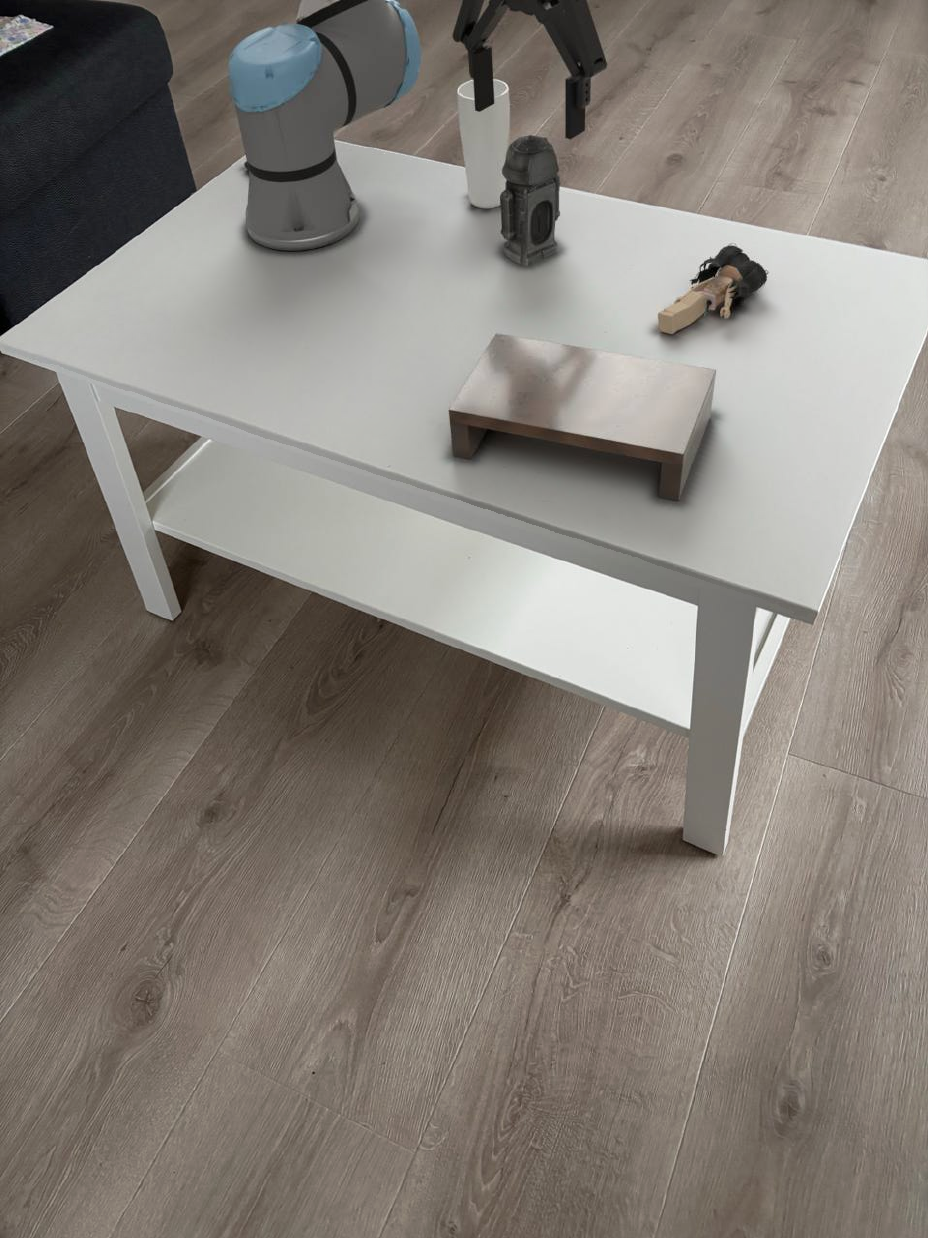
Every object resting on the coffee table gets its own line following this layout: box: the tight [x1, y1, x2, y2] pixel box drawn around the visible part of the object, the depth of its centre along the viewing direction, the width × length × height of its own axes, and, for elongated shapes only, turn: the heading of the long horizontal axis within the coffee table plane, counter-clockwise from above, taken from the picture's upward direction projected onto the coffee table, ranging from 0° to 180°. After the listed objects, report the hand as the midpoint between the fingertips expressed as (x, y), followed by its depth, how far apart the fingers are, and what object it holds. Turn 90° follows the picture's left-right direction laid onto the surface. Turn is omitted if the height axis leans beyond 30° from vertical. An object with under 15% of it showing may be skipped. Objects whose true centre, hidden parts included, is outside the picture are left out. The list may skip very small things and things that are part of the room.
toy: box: [499, 134, 561, 267], centre depth 135 cm, size 8×6×15 cm
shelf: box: [448, 332, 717, 502], centre depth 112 cm, size 24×14×6 cm, turn 69°
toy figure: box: [657, 242, 770, 335], centre depth 127 cm, size 7×6×15 cm
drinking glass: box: [456, 78, 511, 209], centre depth 144 cm, size 7×7×15 cm
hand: (528, 120), depth 128 cm, fingers open, 13 cm apart
